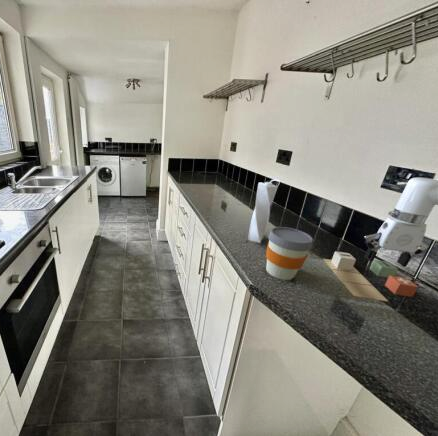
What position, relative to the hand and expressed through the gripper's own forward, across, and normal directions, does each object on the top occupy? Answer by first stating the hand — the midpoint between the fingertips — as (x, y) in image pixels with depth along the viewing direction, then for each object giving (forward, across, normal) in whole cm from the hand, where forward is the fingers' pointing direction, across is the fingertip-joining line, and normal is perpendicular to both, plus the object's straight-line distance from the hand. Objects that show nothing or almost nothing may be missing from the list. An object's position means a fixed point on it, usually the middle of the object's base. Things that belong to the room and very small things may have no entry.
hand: (384, 261), depth 81 cm
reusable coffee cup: (+6, -34, -9) cm, 36 cm away
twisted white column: (+6, -38, +16) cm, 42 cm away
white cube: (+5, -11, +1) cm, 12 cm away
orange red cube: (+5, 0, -10) cm, 11 cm away
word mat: (+6, -11, -6) cm, 14 cm away
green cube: (+5, +1, 0) cm, 5 cm away
